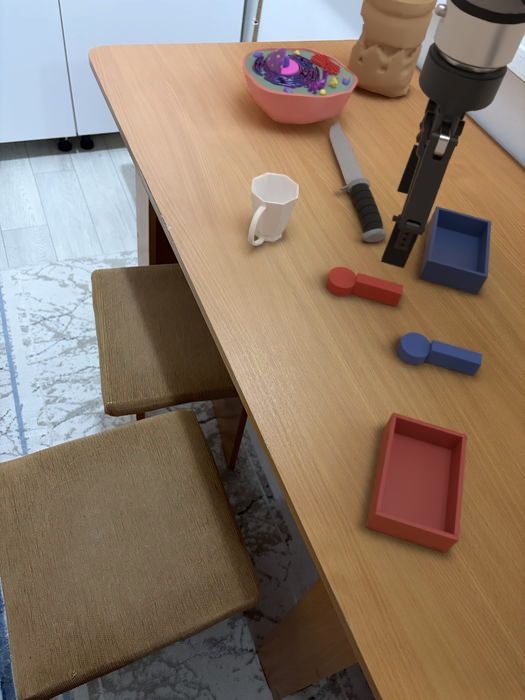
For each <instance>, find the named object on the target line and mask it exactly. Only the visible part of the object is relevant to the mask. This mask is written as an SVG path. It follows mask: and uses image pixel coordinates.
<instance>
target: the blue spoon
mask: <svg viewBox="0 0 525 700" xmlns="http://www.w3.org/2000/svg"><path fill="white" fill-rule="evenodd" d="M396 353H397V355H398V356H397V357H399V359H400V360H401V361H403V362H404V363H406V364H407V365H412V366H419V365H422V364H424V363H428V364H430V365H434V366H436V367H437V366H438V367H441V368H443V369H448V370H451V371H455V372H458V373H461V374H465V375H469V376H471V377H474V376H475V374H476V373H477V372H478V370H479V369H480V367H481V366H482V365H483V363H482V362H483V354H482V352H481V353H480V352H476V351H473V350H470V349H467V348H463V347H460V346H456V345H454V344H451V343H450V344H449V343H447V342H446V343H445V342H442V341H439V340H436V339H432V340H431V341H430V340H429V339H428V338H427V336H425V335H424V334H421V333H419V332H416V331H415V332H414V331H409V332H406V333H404V334H403V335H402V336H401V338H400V341H399V342H398V344H397V346H396Z"/></svg>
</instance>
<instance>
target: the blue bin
mask: <svg viewBox="0 0 525 700" xmlns="http://www.w3.org/2000/svg"><path fill="white" fill-rule="evenodd" d="M430 217H431V218H430V220H429V221H428V225H427V231H426V237H425V242H424V247H423V248H424V249H423V254H422V260H421V266H420V272H419V277H418V278H419V279H420V280H424V281H427V282H431V283H434V284H438V285H441V286H444V287H445V286H446V287H448V288H452V289H455V290H459V291H463V292H467V293H470V294H473V295H478V294H479V292H480V291H481V289H482V288H483V286H484V284H485V282H486V280H487V279H488V277H489V266H490V265H489V263H490V250H491V249H490V247H491V233H492V221H491V220H489V219H485V218H482V217H479V216H474V215H472V214H471V215H470V214H467V213H462V212H459V211H456V210H452V209H449V208H444V207H442V206H435V208H434V211H433V212H432V215H431V216H430Z"/></svg>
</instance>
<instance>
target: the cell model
mask: <svg viewBox="0 0 525 700" xmlns="http://www.w3.org/2000/svg"><path fill="white" fill-rule="evenodd" d="M242 71H243V75H244V78H245V82H246V86H247V89H248V92H249V94H250V96H251V98H252V99H253V101H254V102H255V103H256V104H257V105H258V107H259V108H260V109H261V111H263V112H264V113H265V115H267V116H268V117H269V118H271V119H272V120H273V121H275V122H276V123H278V124H279V123H280V124H286V125H308V124H313V123H318V122H324V121H327V120H331V119H333V118H335V117H337V116H339V115H340V114H342V112H343V111H344V109H345V108H346V106H347V104H348V101H349V100H350V98H351V95H352V93H353V92H354V90H355V88H356V84H357V83H358V79H357V77H356V76H355V75H354V74H353V73H352V72H351V71H350V70H349V69H348V67H347V66H345V65H344V64H343V63H342V62H340V60H338V59H337V58H335V57H334V56H332V55H329V54H327V53H324V52H321V51H319V50H317V49H314V48H311V47H307V46H295V47H294V46H293V47H291V46H289V47H286V46H285V47H282V46H278V47H277V46H268V47H261V48H257V49H254V50H251V51H250V52H247V53H246V54H245V55H244V57H243V58H242Z"/></svg>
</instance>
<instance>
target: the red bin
mask: <svg viewBox="0 0 525 700" xmlns="http://www.w3.org/2000/svg"><path fill="white" fill-rule="evenodd" d="M382 431H383V432H382V437H381V441H380V448H379V452H378V459H377V463H376V470H375V476H374V481H373V487H372V491H371V492H372V493H371V497H370V502H369V507H368V513H367V514H368V515H367V519H366V524H365V528H367V529H369V530H374V531H377V532H379V533H383V534H386V535H389V536H392V537H395V538H399V539H400V540H401V539H402V540H405V541H409V542H411V543H415V544H417V545H420V546H424V547H427V548H430V549H433V550H436V551H439V552H442V553H447V551H449V550H450V549H451V548H452V547H453V546H454V545H456V543H458V542H459V540H460V527H461V515H462V503H463V491H464V490H463V489H464V477H465V465H466V453H467V439H468V435H467V434H466V433H463V432H459V431H456V430H453V429H449V428H446V427H443V426H440V425H436V424H433V423H429V422H427V421H423V420H419V419H416V418H412V417H410V416H406V415H403V414H400V413H396V412H391V415H390V417H389V418H388V420H387V422H386V423H385V426H384V428H383V430H382Z"/></svg>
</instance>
